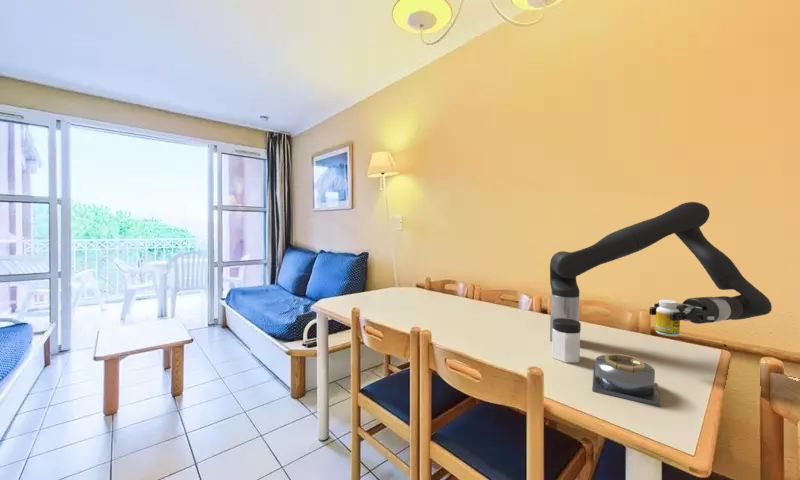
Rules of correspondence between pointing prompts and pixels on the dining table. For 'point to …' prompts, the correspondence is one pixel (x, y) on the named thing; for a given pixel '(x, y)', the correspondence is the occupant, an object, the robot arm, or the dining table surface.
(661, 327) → the supplement bottle
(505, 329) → the dining table surface
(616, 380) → the gold-rimmed grey pod
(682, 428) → the dining table surface
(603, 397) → the dining table surface
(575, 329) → the jar
